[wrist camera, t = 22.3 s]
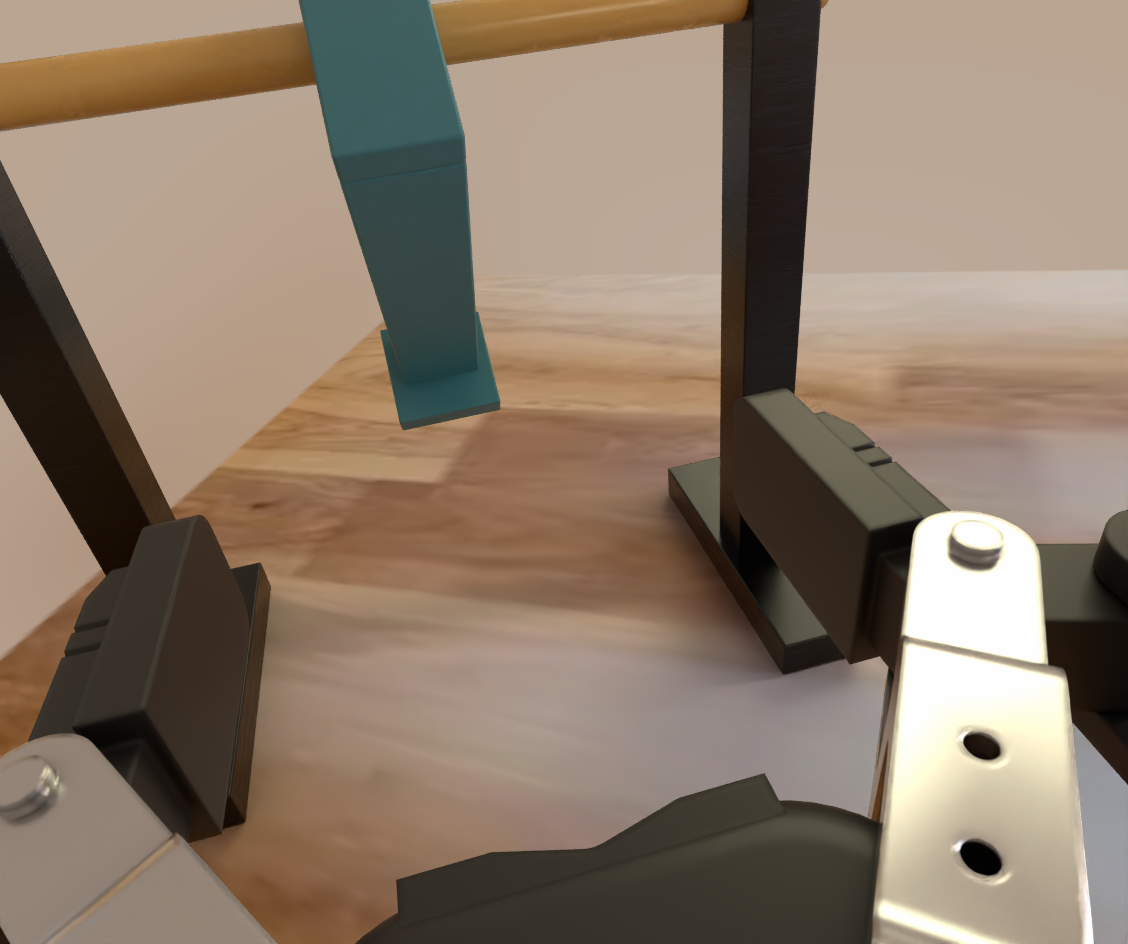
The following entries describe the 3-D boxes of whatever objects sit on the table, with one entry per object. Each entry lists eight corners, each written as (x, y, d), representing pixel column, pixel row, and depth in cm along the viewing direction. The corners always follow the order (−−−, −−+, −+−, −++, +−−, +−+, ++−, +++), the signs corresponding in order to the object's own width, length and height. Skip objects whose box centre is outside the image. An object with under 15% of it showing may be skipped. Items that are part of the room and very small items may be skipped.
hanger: (500, 409, 32) (502, 189, 17) (402, 430, 31) (320, 220, 17) (450, 207, 34) (414, -139, 19) (358, 224, 33) (251, -121, 19)
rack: (858, 654, 29) (979, -132, 16) (151, 849, 25) (-437, 45, 12) (726, 479, 38) (733, -94, 26) (203, 602, 35) (-94, 11, 22)
